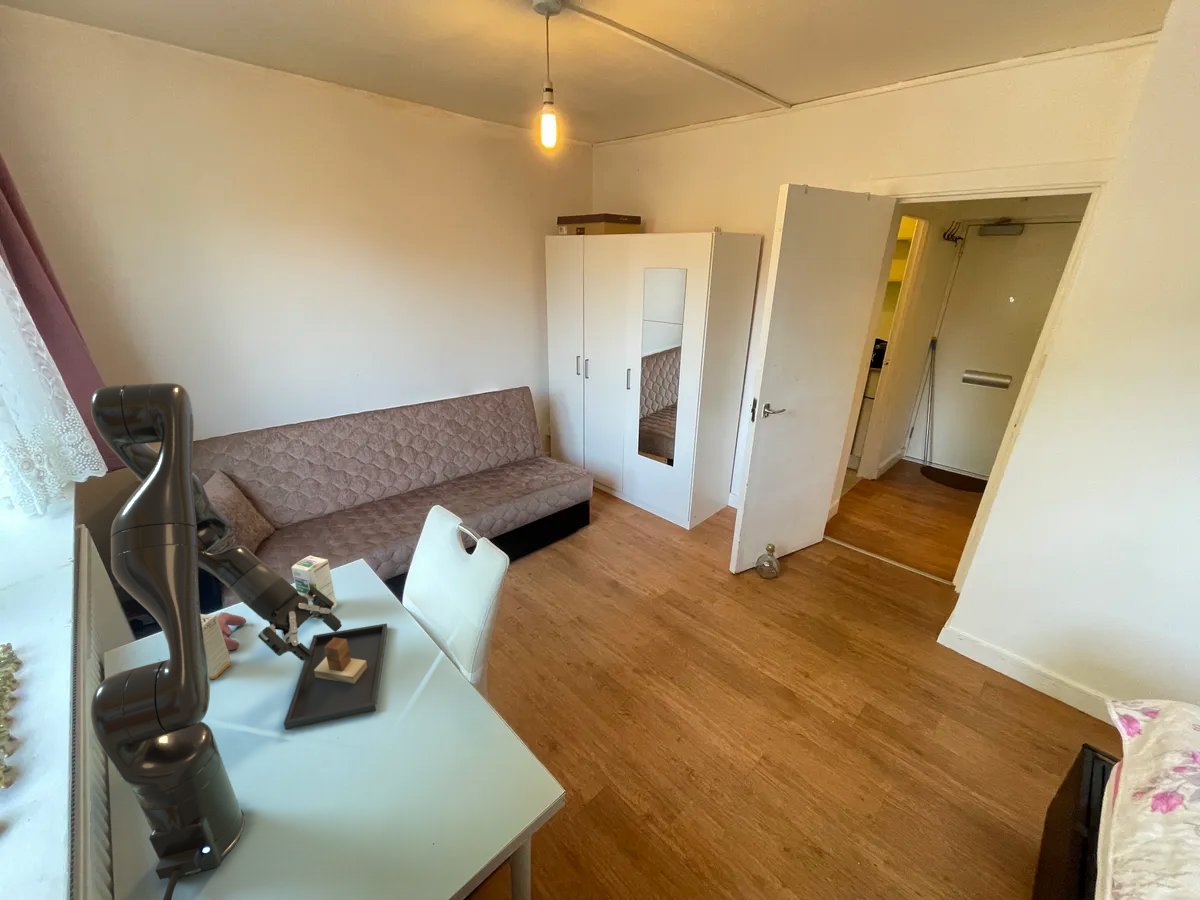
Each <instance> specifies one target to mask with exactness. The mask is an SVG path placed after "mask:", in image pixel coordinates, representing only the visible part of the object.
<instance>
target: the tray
mask: <svg viewBox="0 0 1200 900" xmlns="http://www.w3.org/2000/svg"><path fill="white" fill-rule="evenodd" d="M388 629H389V626H388V623H380V624H375V625H368V626H362V627H355V628H349V629H344V630H340V631H339V630H337V631H336V632H335V631H332V632H331V631H330V632H326V633H320V634H313V636H312V639H311V642H310V645H309V648H308V649H309V650H310V651H311V652H312V653H313V654H314V656H313V657H312V658H311V659H310V660H309V661H305V660H304V663H303V666H302V668H301V671H300V675H299V677H298V680H297V683H296V687H295V689H294V692H293V695H292V698H291V702H290V704H289V708H288V710H287V714H286V716H285V720H284V722H283V726H284V729H285V730H291V729H295V728H296V729H297V728H300V727H305V726H310V725H315V724H320V723H325V722H329V721H333V720H339V719H343V718H347V717H352V716H357V715H358V716H359V715H362V714H367V713H372V712H376V711H377V705H378V699H379V698H378V697H379V693H380V692H379V691H380V684H381V677H382V671H383V665H384V658H385V657H384V656H385V650H386V644H387V637H388ZM334 637H336V638H342V639H347V644H348V649H349V653H350V658H353V659H359V660H365V661H366V663H367V669H366V670H365V671H364V672H363V674H362V675H361V676H360V678H359V679H358V680H357V681H356V683H355V684H352V683H346V682H340V681H334V680H328V679H322V678H316V677H315V673H314V670H315V669H316V667H317V666H318V665H319V664H320V663H321V662H322V661H323V660H324V659H325V658H326V653H325V648H324V647H325V646H326V645H327V644H328V643H329V642H330V641H331V640H332V639H333V638H334Z"/></svg>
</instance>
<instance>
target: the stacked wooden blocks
mask: <svg viewBox="0 0 1200 900" xmlns="http://www.w3.org/2000/svg"><path fill="white" fill-rule="evenodd" d="M324 648H325V653H326V658H325V659H324V660H323V661H322V662H321V663H320V664H319V665H318V666H317V667H316V669H315V670H314V673H315V677H316V678H322V679H328V680H334V681H340V682H346V683H352V684H355V683H356V681H357V680H358V679H359V678H360V676H361V675H362V674H363V672H364V671H365V670H366V669H367V663H366V661H365V660H359V659H353V658H350V653H349V649H348V644H347V639H342V638H336V637H334V638H333V639H332V640H331V641H330V642H329V643H328V644H327V645H326V646H325V647H324Z"/></svg>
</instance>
